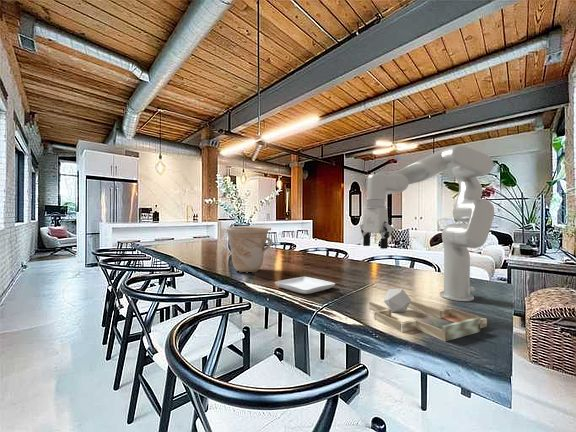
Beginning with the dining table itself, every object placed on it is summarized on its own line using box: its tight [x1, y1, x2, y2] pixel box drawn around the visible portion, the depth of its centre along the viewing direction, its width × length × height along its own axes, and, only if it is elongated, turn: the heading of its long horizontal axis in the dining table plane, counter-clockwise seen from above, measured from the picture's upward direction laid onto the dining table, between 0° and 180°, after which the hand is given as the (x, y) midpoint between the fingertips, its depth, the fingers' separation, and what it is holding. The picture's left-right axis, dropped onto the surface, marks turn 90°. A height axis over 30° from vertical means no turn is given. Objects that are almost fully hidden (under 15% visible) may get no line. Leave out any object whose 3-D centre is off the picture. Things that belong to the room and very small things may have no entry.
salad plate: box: [274, 276, 336, 295], centre depth 135 cm, size 21×21×3 cm
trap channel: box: [368, 300, 488, 342], centre depth 96 cm, size 28×30×4 cm
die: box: [383, 288, 412, 313], centre depth 104 cm, size 8×9×10 cm
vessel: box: [224, 225, 273, 274], centre depth 177 cm, size 29×29×30 cm
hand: (374, 247), depth 115 cm, fingers open, 9 cm apart
